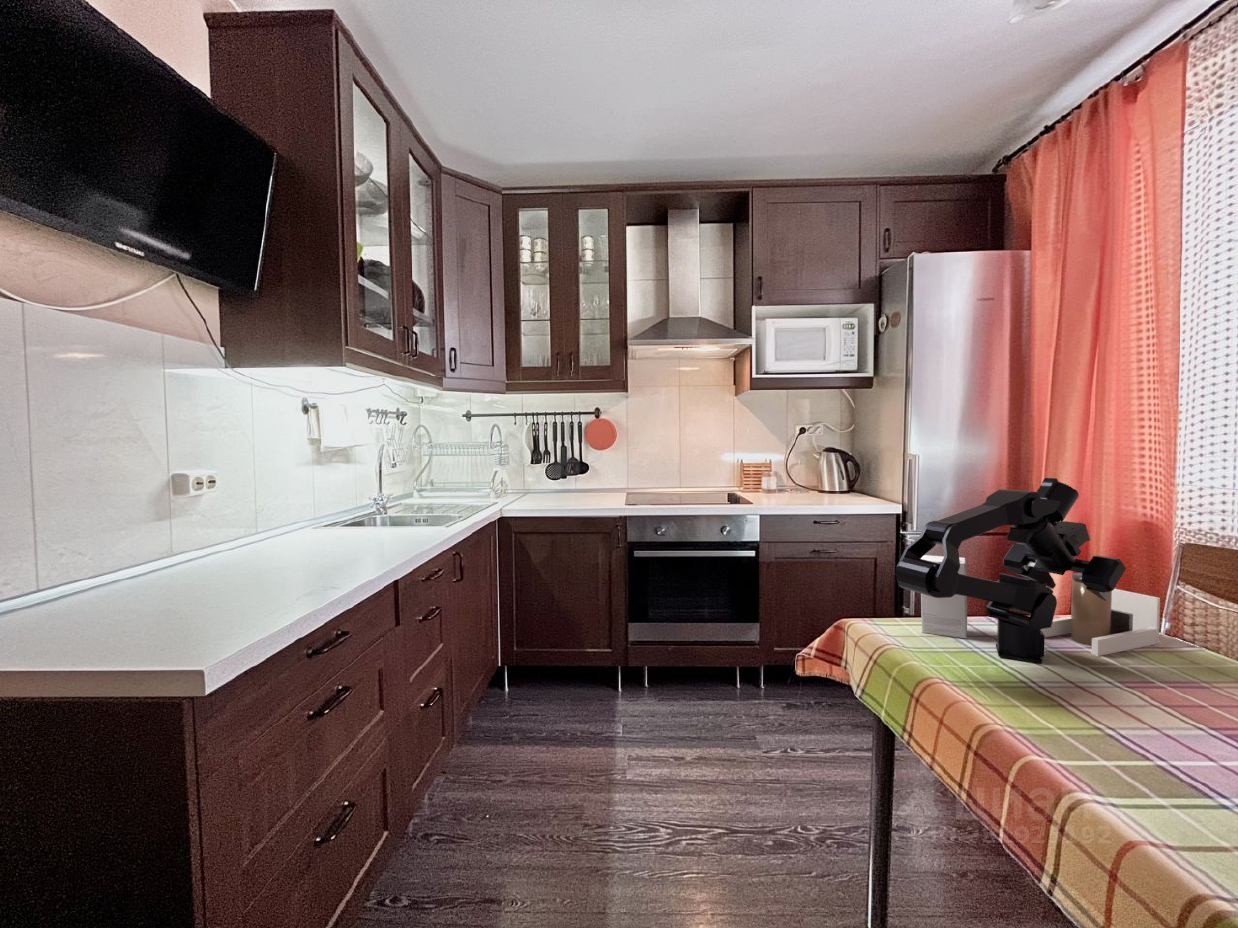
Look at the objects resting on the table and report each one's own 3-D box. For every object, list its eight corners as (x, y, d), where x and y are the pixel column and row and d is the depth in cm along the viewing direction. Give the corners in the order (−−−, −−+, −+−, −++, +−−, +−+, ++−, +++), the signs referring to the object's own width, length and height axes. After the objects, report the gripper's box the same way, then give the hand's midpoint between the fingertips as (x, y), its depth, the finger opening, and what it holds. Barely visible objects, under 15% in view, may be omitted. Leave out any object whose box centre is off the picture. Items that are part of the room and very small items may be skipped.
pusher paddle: (1129, 642, 107) (1129, 614, 107) (1082, 629, 114) (1083, 603, 114) (1132, 641, 107) (1132, 613, 107) (1085, 629, 115) (1086, 602, 115)
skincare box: (966, 630, 116) (967, 557, 115) (966, 640, 110) (967, 563, 110) (921, 624, 120) (922, 553, 120) (919, 632, 115) (920, 558, 114)
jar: (1074, 643, 108) (1075, 577, 108) (1068, 634, 113) (1069, 571, 113) (1114, 648, 105) (1115, 581, 105) (1106, 639, 110) (1107, 574, 110)
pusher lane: (1097, 656, 101) (1098, 607, 101) (1035, 636, 112) (1036, 592, 112) (1158, 643, 108) (1160, 597, 107) (1094, 626, 118) (1095, 584, 118)
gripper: (1120, 514, 96) (1157, 571, 101) (1013, 503, 114) (1048, 552, 118) (1090, 562, 94) (1129, 618, 98) (985, 544, 112) (1022, 592, 116)
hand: (1079, 592), depth 108 cm, fingers open, 9 cm apart
